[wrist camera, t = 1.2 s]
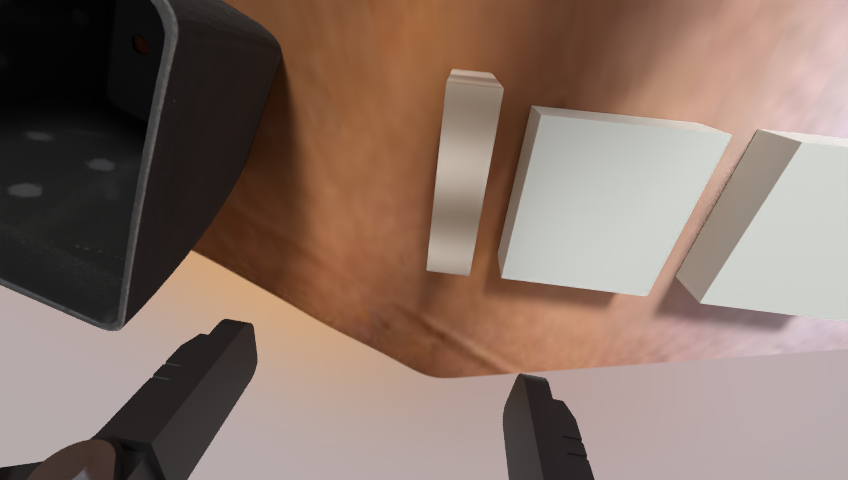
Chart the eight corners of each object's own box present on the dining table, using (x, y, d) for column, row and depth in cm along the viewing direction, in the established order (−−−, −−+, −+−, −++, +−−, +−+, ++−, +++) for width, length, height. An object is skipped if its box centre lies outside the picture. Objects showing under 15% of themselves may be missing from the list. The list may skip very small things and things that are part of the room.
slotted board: (531, 105, 27) (541, 114, 24) (934, 147, 26) (1006, 163, 22) (497, 254, 34) (501, 278, 31) (812, 293, 33) (852, 322, 29)
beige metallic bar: (452, 68, 26) (446, 82, 18) (491, 72, 26) (504, 88, 18) (436, 209, 33) (426, 270, 24) (468, 213, 32) (469, 276, 24)
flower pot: (74, -156, 22) (-659, -524, 8) (338, 22, 26) (175, -1, 11) (68, 108, 31) (-276, 168, 17) (264, 213, 35) (120, 338, 20)
